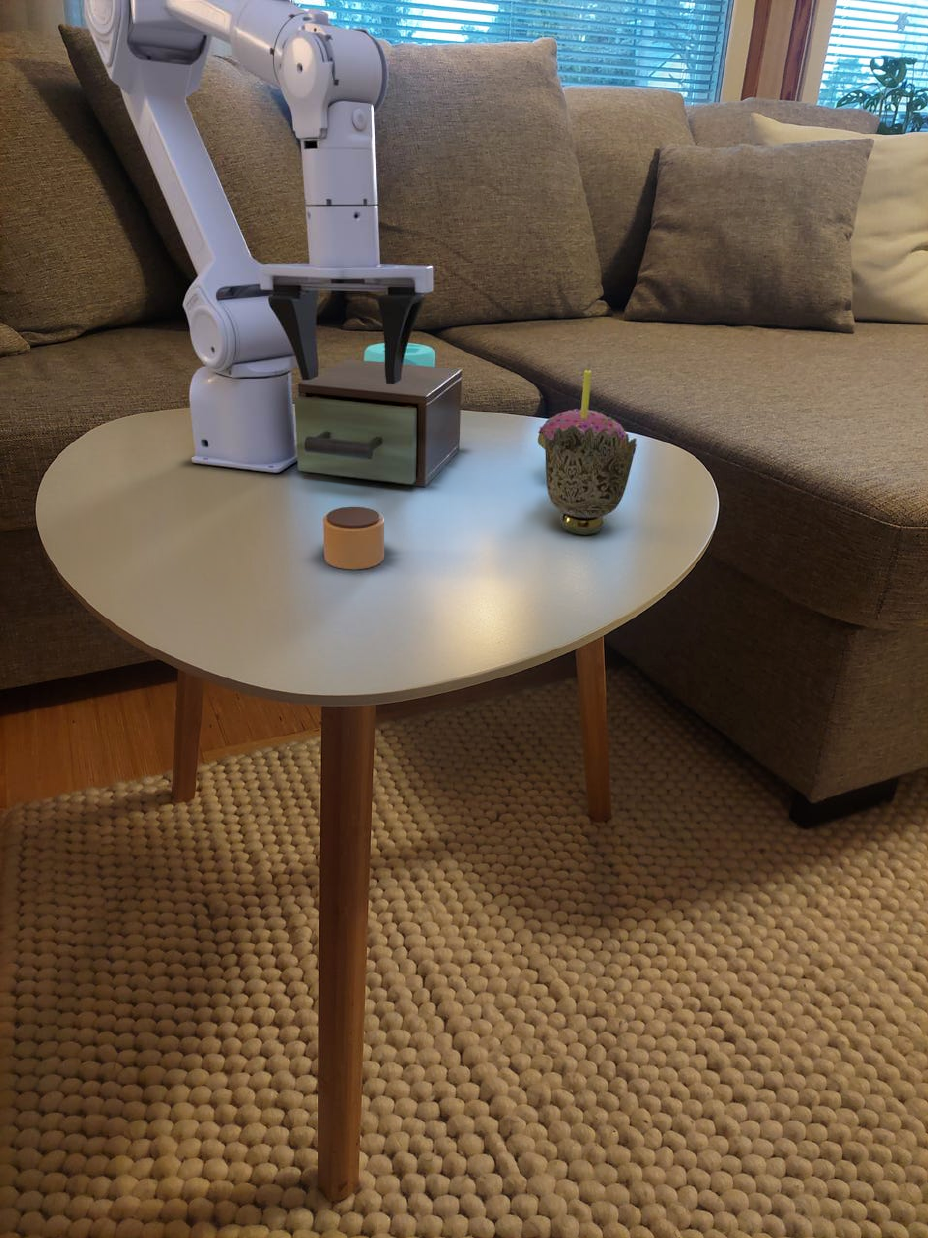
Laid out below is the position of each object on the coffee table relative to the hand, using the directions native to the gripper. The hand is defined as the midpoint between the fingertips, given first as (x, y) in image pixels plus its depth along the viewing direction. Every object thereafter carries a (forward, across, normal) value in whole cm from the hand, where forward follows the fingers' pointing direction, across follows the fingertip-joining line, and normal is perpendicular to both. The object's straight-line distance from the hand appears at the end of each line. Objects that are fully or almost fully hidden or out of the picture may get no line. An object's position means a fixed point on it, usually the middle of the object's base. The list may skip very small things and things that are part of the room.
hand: (351, 380), depth 75 cm
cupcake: (+11, +19, +11) cm, 24 cm away
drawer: (+9, -1, +6) cm, 11 cm away
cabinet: (+10, -1, +11) cm, 15 cm away
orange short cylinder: (+11, +4, -13) cm, 18 cm away
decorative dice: (+10, -5, +28) cm, 30 cm away
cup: (+12, +21, -1) cm, 24 cm away
